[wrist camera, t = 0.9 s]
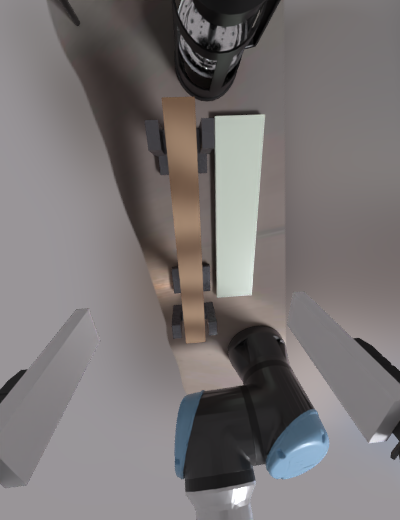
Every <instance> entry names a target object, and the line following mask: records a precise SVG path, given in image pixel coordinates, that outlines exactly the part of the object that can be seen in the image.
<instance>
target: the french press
mask: <svg viewBox="0 0 400 520" xmlns="http://www.w3.org/2000/svg"><path fill="white" fill-rule="evenodd" d="M279 2H280V0H182V1H181V3H180V6H179V9H178V11H177V8H176V4H175V0H172V11H173V24H174V38H175V67H176V72H177V76H178V78H179V80H180V83H181V85H182V86H183V88H184V89H185V90H186V91H187V92H188V93H189V94H190V95H191V96H192V97H195V99H198V100H201V101H213V100H216V99H218V98H220V97H221V96H223V95H224V94H225V93H226V92H227V91H228V90H229V88H230V87H231V85H232V83H233V81H234V79H235V77H236V73H237V69H238V67H239V64H240V61H241V57H242V54H243V51H244V49H248V48H251V47H255V46H256V45H257V43H258V41H259V40H260V38H261V36H262V34H263V32H264V30H265V28H266V26H267V25H268V23H269V21H270V19H271V17H272V15H273V13H274V11H275V10H276V8H277V6H278V4H279ZM259 10H260V14H259V16H258V18H257V21H256V23H255V25H254V27H253V28H252V26H253V23H254V21H255V19H256V17H257V14H258V12H259ZM183 58H184V59H185V61H186V62H187V64H188V65H189V66H190V67H191V68H192V69H193V70H194V71H195V72H196V73H198V74H199V75H201V76H204V77H207V78H212V81H211V85H210V88H209V89H203V88H201V87H198V86H197V85H195V84H194V83H192V82H191V80H190V79H189V77H188V75H187V73H186V71H185V67H184V61H183ZM227 73H228V74H227ZM226 75H227V76H226ZM225 77H226V78H225Z"/></svg>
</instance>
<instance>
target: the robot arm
mask: <svg viewBox="0 0 400 520" xmlns="http://www.w3.org/2000/svg"><path fill="white" fill-rule="evenodd" d="M287 325H288V327H289V328H290V330H291V331H292V333H293V334H294V335H295V337H296V338H297V340H298V341H299V343H300V344H301V346H302V347H303V348H304V350H305V351H306V353H307V354H308V356H309V357H310V359H311V360H312V362H313V363H314V365H315V366H316V367H317V369H318V370H319V372H320V373H321V375H322V376H323V378H324V379H325V381H326V382H327V384H328V385H329V386H330V388H331V389H332V391H333V392H334V394H335V395H336V396H337V398H338V399H339V401H340V402H341V404H342V405H343V407H344V408H345V410H346V411H347V413H348V414H349V415H350V417H351V418H352V420H353V421H354V423H355V424H356V426H357V427H358V429H359V430H360V431H361V433H362V434H363V436H364V437H365V439H366V440H367V442H368V443H374V442H381V441H387V440H388V438H389V437H390V435H391V434H392V433H393V434H394V435H395V436H396V437H397V439H398V440H399V443H398V444H397V445H396V447H395V448H394V449H393V451H392V452H391V458H392V459H394V460H395V458H396V457H397V456H398V455H399V458H400V371H399V370H398V369H397V368H396V367H395V366H392V365H391V363H390V362H389V361H388V360H387V359H386V358H385V357H383V356H382V354H380V353H379V352H378V351H377V350H376V349H375V348H374V347H373V346H372V345H370V344H368V343H366V342H365V341H363V340H362V339H360V338H352V337H351V336H350V335H349V334H348V333H347V332H346V331H345V330H344V329H343V328H342V327H341V326H340V325H339V324H338V323H336V322H335V321H334V320H333V319H332V318H331V317H330V316H329V315H328V314H327V313H326V312H325V311H324V310H323V309H322V308H321V307H320V306H319V305H318V304H317V303H316V302H315V301H314V300H312V298H311V297H310V296H308V295H307V294H306V293H305V292H293V295H292V301H291V306H290V311H289V316H288V322H287ZM99 342H100V339H99V336H98V333H97V330H96V327H95V324H94V321H93V318H92V316H91V313H90V310H89V308H87V309H77V310H75V312H74V313H73V314H72V315H71V317H70V318H69V319H68V320H67V322H66V323H65V324H64V325H63V327H62V328H61V329H60V330H59V332H58V333H57V334H56V336H54V338H53V339H52V340H51V341H50V343H49V344H48V345H47V346H46V348H45V349H44V350H43V351H42V353H41V354H40V355H39V357H38V358H37V359H36V360H35V361H34V362H33V364H32V365H31V366H30V367H29V369H27V370H21V371H19V372H18V373H17V374H16V375H15V376H13V377H12V378H11V379H10V380H8V381H7V382H6V384H5V385H4V386H3V387H2V388H1V389H0V484H1V485H2V486H3V487H4V488H10V487H18V486H26V485H27V484H28V482H29V480H30V478H31V476H32V474H33V472H34V470H35V468H36V466H37V464H38V462H39V460H40V458H41V457H42V455H43V453H44V451H45V449H46V447H47V445H48V443H49V441H50V439H51V437H52V435H53V433H54V431H55V429H56V427H57V425H58V423H59V421H60V419H61V417H62V415H63V413H64V411H65V409H66V407H67V405H68V403H69V401H70V400H71V397H72V395H73V393H74V392H75V390H76V388H77V386H78V383H79V382H80V380H81V378H82V376H83V374H84V372H85V370H86V368H87V366H88V364H89V361H90V360H91V358H92V356H93V354H94V352H95V350H96V348H97V346H98V344H99ZM228 355H229V359H230V362H231V364H232V366H233V367H234V369H235V370H236V372H237V373H238V375H239V377H240V378H241V380H242V381H243V384H244V385H243V386H236V387H230V388H223V389H217V390H210V391H205V390H202V391H201V392H198V393H193V394H189V395H187V396H185V397H184V398H183V400H182V402H181V404H180V407H179V412H178V417H177V424H176V435H175V471H176V475H177V477H179V478H181V479H184V478H185V492H186V496H187V497H188V499H189V500H190V501H191V503H192V504H193V506H194V507H195V510H196V520H254V519H253V514H252V509H251V504H250V500H251V495H252V493H253V490H254V487H255V485H256V480H255V476H254V471H253V466H256V465H261V464H266V468H267V470H268V471H269V474H270V475H271V476H272V477H273V478H276V479H279V478H281V479H288V478H292V477H295V476H298V475H300V474H302V473H304V472H306V471H308V470H310V469H311V468H313V467H314V466H315V465H316V464H318V463H319V462H320V461H321V460H322V459H323V457H324V456H325V455H326V453H327V451H328V448H329V438H328V435H327V432H326V430H325V428H324V426H323V424H322V422H321V420H320V419H319V416H318V413H317V411H316V410H315V409H314V407H313V405H312V404H311V402H310V400H309V398H308V397H307V395H306V393H305V391H304V390H303V388H302V386H301V384H300V383H299V381H298V379H297V378H296V376H295V374H294V372H293V370H292V369H291V367H290V365H289V360H288V355H287V350H286V345H285V342H284V340H283V339H282V337H281V336H280V334H279V333H278V332H277V331H276V330H274V329H272V328H270V327H265V326H256V327H251V328H248V329H245V330H243V331H241V332H240V333H238V334H237V335H236V336H235V337H234V338H233V339H232V340H231V342H230V344H229V347H228Z"/></svg>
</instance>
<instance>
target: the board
mask: <svg viewBox="0 0 400 520" xmlns="http://www.w3.org/2000/svg"><path fill="white" fill-rule="evenodd" d="M264 121H265V115H234V116H215V117H214V135H215V148H214V156H215V234H216V296H217V298H220V297H232V296H245V295H252V282H253V269H254V256H255V242H256V229H257V215H258V202H259V188H260V175H261V161H262V148H263V134H264Z"/></svg>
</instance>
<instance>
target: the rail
mask: <svg viewBox="0 0 400 520" xmlns="http://www.w3.org/2000/svg"><path fill="white" fill-rule="evenodd" d="M162 106H163V116H164V127H165V137H166V147H167V157H168V167H169V177H170V187H171V197H172V207H173V217H174V227H175V237H176V247H177V258H178V268H179V278H180V288H181V298H182V308H183V318H184V328H185V338H186V344H187V343H198V342H206V341H205V319H204V296H203V274H202V251H201V229H200V206H199V184H198V161H197V139H196V116H195V97H165V98H162Z"/></svg>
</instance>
